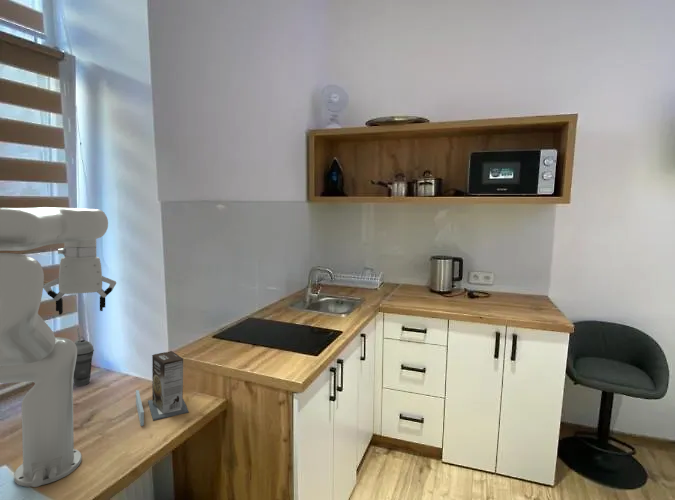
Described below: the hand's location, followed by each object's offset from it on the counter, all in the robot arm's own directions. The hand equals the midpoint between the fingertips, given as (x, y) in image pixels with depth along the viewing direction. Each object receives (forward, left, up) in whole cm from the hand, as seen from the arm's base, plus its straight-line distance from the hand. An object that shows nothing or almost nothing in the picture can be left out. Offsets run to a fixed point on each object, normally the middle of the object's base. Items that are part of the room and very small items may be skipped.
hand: (81, 311), depth 107 cm
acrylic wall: (-4, -14, -32) cm, 36 cm away
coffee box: (-4, -22, -32) cm, 39 cm away
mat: (-4, -22, -32) cm, 40 cm away
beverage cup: (+28, +1, -32) cm, 43 cm away
